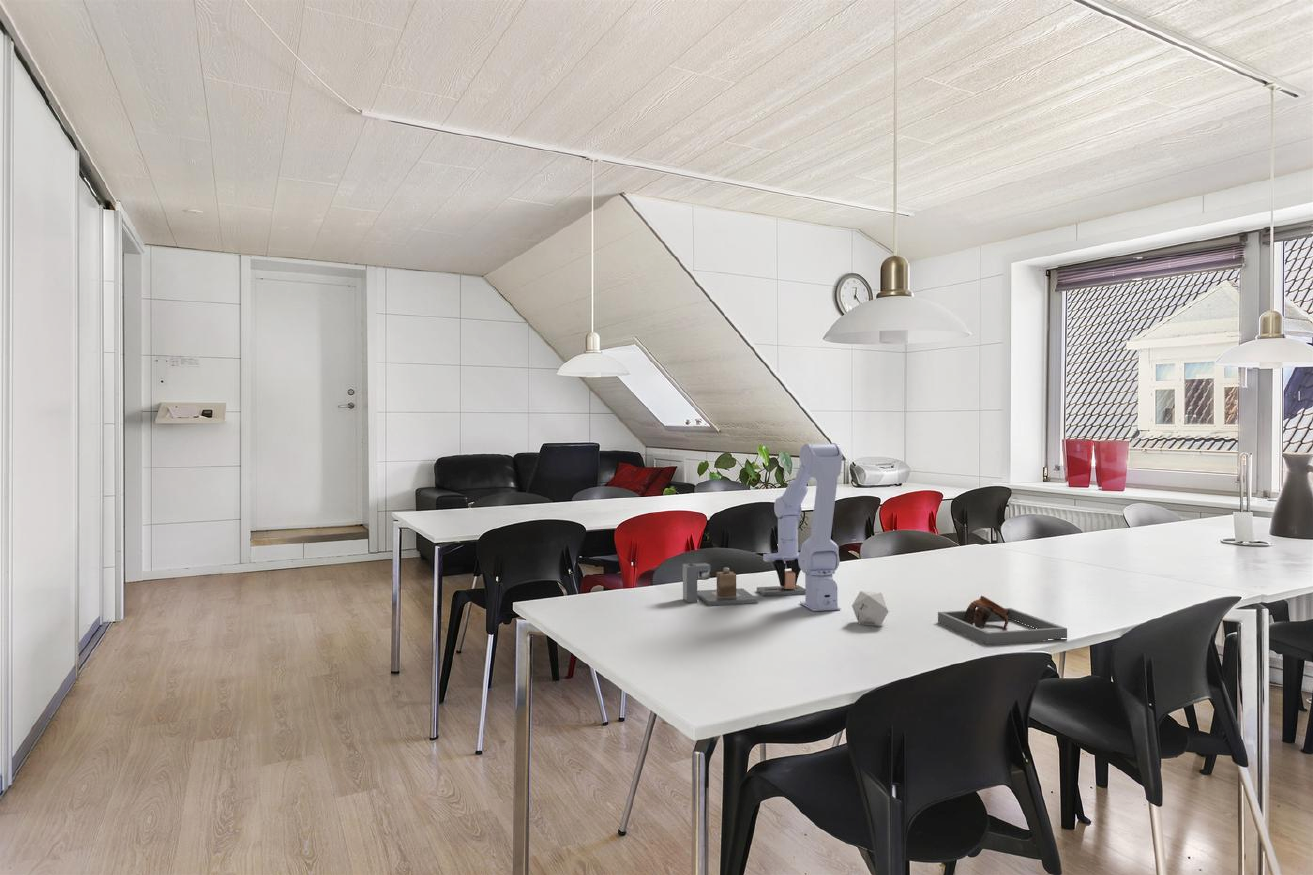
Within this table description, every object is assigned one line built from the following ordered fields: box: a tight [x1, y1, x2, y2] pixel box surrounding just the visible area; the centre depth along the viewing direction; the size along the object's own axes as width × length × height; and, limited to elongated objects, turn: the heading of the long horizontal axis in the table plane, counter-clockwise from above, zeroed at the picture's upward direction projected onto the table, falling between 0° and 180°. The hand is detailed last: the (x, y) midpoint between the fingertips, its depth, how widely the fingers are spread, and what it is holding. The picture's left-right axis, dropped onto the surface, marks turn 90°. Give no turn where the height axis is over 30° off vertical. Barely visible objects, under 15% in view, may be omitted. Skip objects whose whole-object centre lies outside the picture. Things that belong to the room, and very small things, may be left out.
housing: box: [716, 567, 737, 597], centre depth 215 cm, size 4×4×8 cm
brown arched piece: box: [964, 595, 1010, 630], centre depth 183 cm, size 12×10×8 cm
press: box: [682, 562, 759, 607], centre depth 215 cm, size 14×19×10 cm
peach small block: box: [780, 570, 795, 589], centre depth 223 cm, size 4×3×4 cm
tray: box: [937, 607, 1068, 646], centre depth 180 cm, size 20×20×2 cm
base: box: [756, 584, 805, 597], centre depth 223 cm, size 7×13×1 cm, turn 101°
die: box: [851, 590, 889, 627], centre depth 187 cm, size 8×9×10 cm
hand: (788, 585), depth 223 cm, fingers closed on peach small block, 3 cm apart
